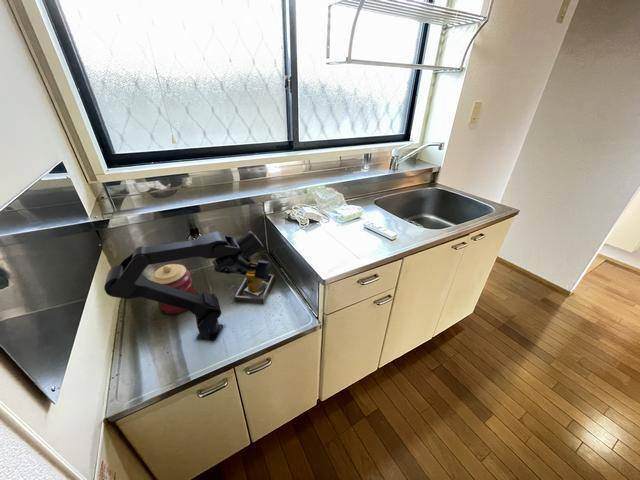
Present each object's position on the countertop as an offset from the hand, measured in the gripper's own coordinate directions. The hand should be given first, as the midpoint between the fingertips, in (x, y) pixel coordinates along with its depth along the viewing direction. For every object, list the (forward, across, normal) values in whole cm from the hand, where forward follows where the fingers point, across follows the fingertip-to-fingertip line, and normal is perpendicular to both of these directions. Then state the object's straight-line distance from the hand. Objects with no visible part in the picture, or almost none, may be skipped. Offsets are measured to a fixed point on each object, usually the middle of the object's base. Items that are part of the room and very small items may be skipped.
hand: (250, 272), depth 97 cm
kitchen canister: (+6, +27, +15) cm, 32 cm away
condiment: (+14, +1, +4) cm, 15 cm away
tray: (+13, +1, +5) cm, 14 cm away
